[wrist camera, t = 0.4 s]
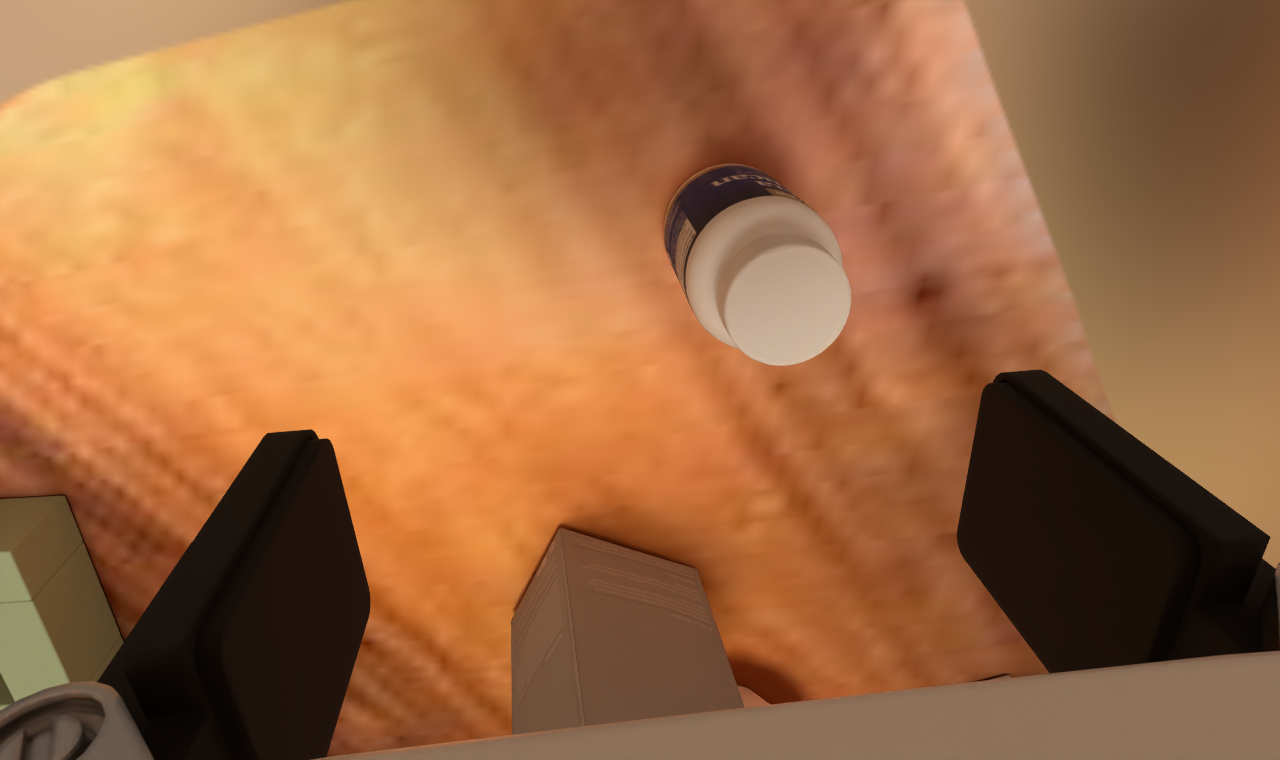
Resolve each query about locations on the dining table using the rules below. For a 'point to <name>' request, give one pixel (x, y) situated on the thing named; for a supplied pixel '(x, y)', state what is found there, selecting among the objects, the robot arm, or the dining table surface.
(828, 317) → the pill bottle
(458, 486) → the dining table surface
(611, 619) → the cosmetic box
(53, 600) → the holder
